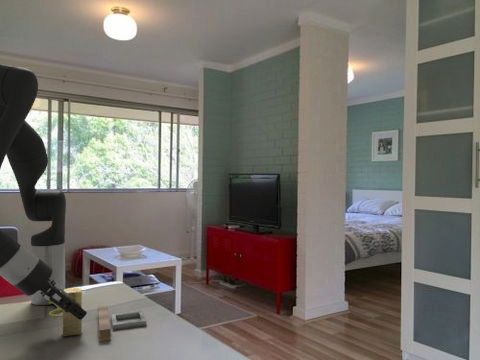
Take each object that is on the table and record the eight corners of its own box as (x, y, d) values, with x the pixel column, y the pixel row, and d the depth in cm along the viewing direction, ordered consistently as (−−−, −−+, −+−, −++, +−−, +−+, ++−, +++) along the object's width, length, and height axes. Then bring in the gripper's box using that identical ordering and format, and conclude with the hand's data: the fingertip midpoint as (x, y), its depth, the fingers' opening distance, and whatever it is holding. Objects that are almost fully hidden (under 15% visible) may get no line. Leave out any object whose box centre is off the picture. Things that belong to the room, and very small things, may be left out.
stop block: (63, 329, 97) (63, 288, 97) (81, 327, 99) (81, 287, 99) (62, 336, 94) (62, 293, 94) (81, 333, 95) (81, 291, 95)
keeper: (111, 319, 106) (111, 314, 106) (142, 315, 109) (142, 310, 109) (112, 329, 98) (112, 324, 98) (146, 325, 101) (146, 320, 101)
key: (56, 305, 119) (56, 298, 119) (80, 313, 112) (80, 306, 112) (32, 312, 113) (32, 304, 113) (56, 321, 106) (56, 313, 106)
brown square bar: (98, 315, 109) (98, 306, 109) (107, 314, 109) (107, 305, 109) (99, 341, 92) (99, 330, 92) (110, 339, 93) (110, 328, 92)
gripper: (43, 262, 86) (100, 308, 93) (32, 251, 98) (84, 293, 105) (15, 291, 83) (76, 336, 90) (7, 276, 95) (62, 317, 102)
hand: (80, 312), depth 97 cm, fingers closed on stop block, 5 cm apart
